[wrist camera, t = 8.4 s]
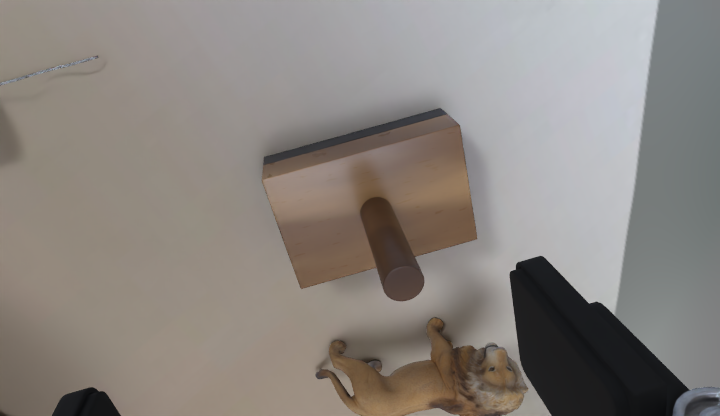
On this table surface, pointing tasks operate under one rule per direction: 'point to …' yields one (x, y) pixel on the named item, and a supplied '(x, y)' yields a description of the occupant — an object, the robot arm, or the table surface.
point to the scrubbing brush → (373, 201)
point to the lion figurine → (432, 381)
